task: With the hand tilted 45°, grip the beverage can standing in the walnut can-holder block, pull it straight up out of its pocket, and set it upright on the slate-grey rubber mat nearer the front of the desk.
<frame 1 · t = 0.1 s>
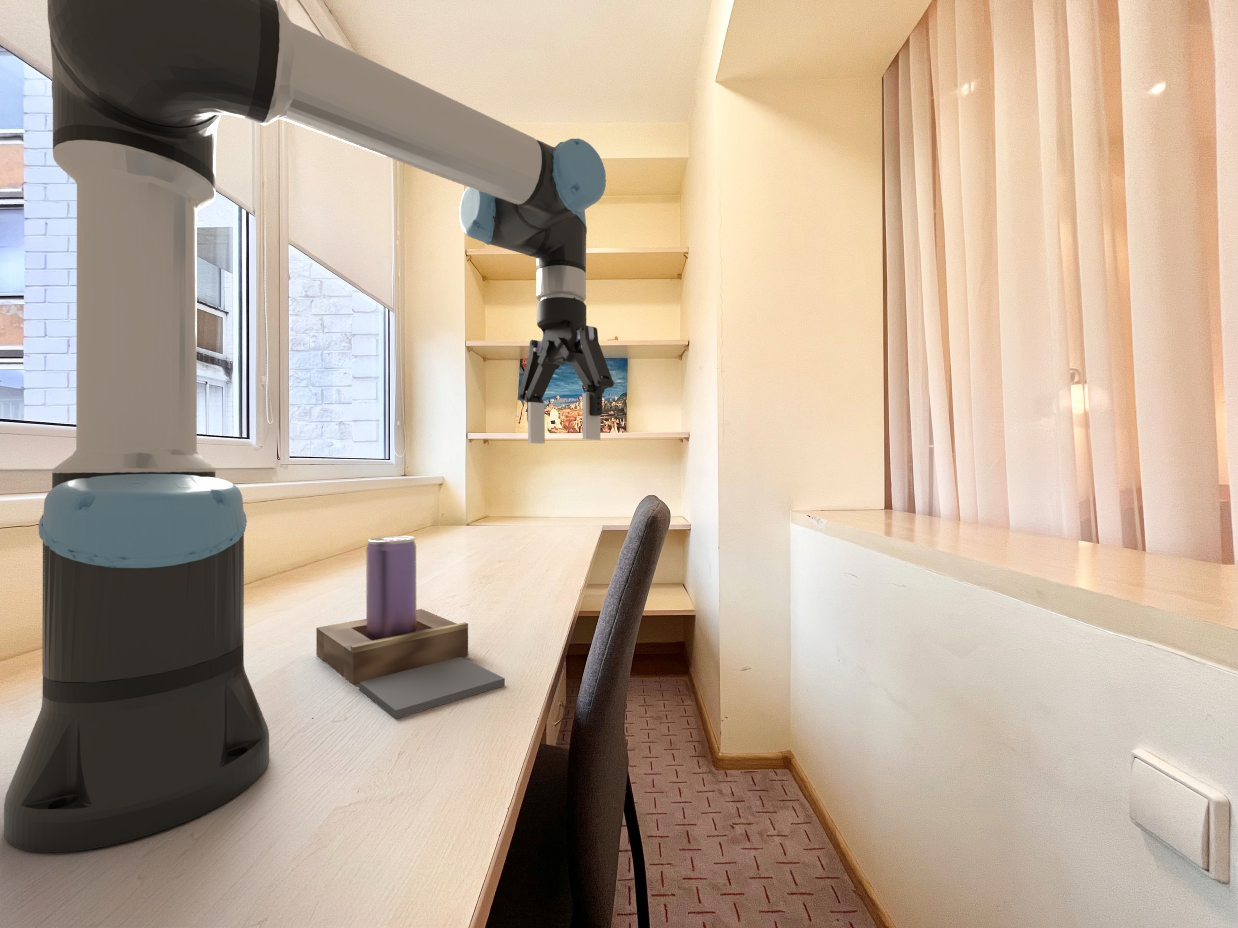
hand: (562, 441, 86), 28 cm above the table, tool pointing down, fingers open, 13 cm apart
rubber mat: (432, 687, 62), on the table
beverage can: (391, 656, 73), resting in can holder
can holder: (391, 655, 73), on the table
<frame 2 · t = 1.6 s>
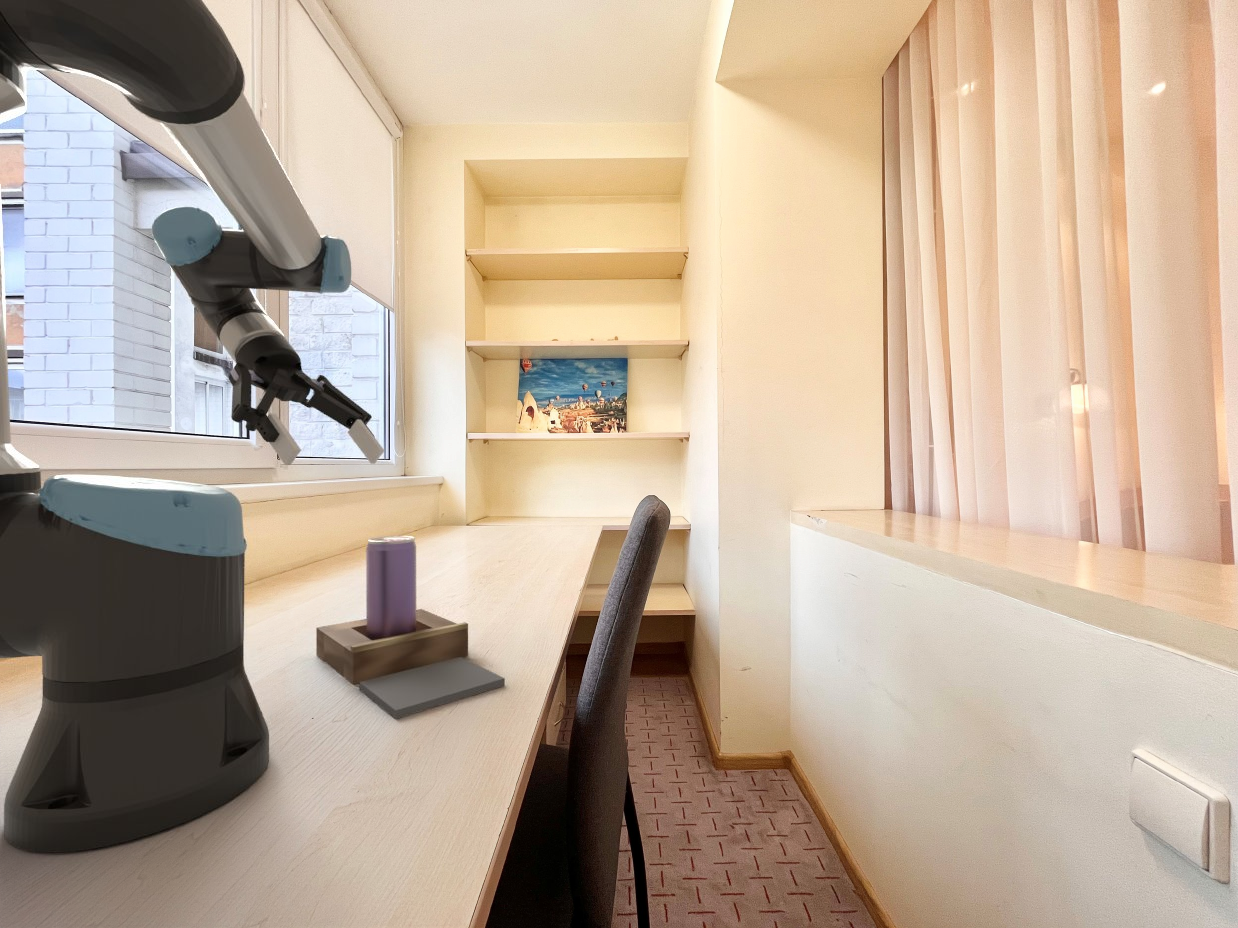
hand: (339, 457, 77), 26 cm above the table, tool tilted 45°, fingers open, 13 cm apart
nothing on the table moved.
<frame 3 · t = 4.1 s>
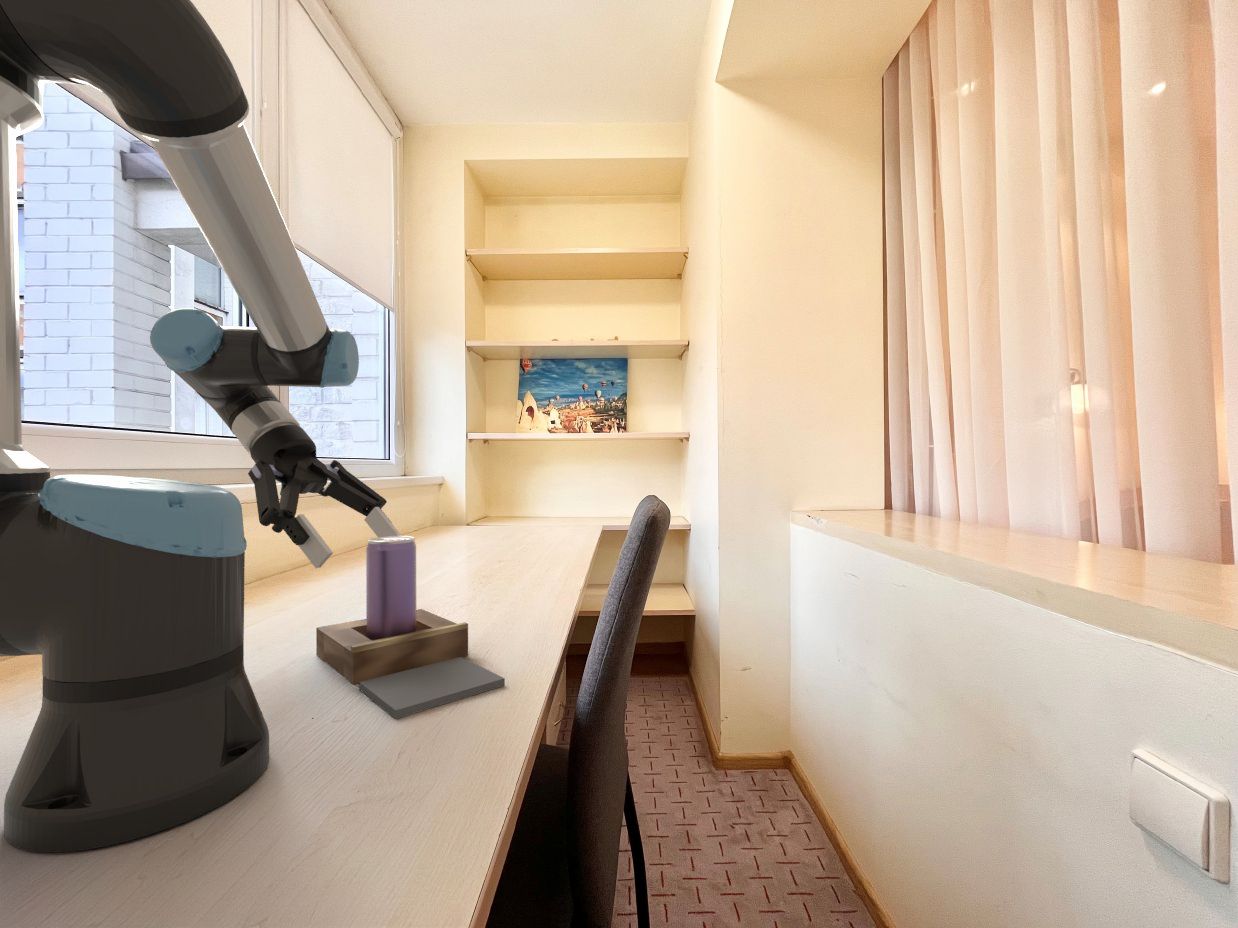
hand: (364, 552, 76), 13 cm above the table, tool tilted 45°, fingers open, 13 cm apart
nothing on the table moved.
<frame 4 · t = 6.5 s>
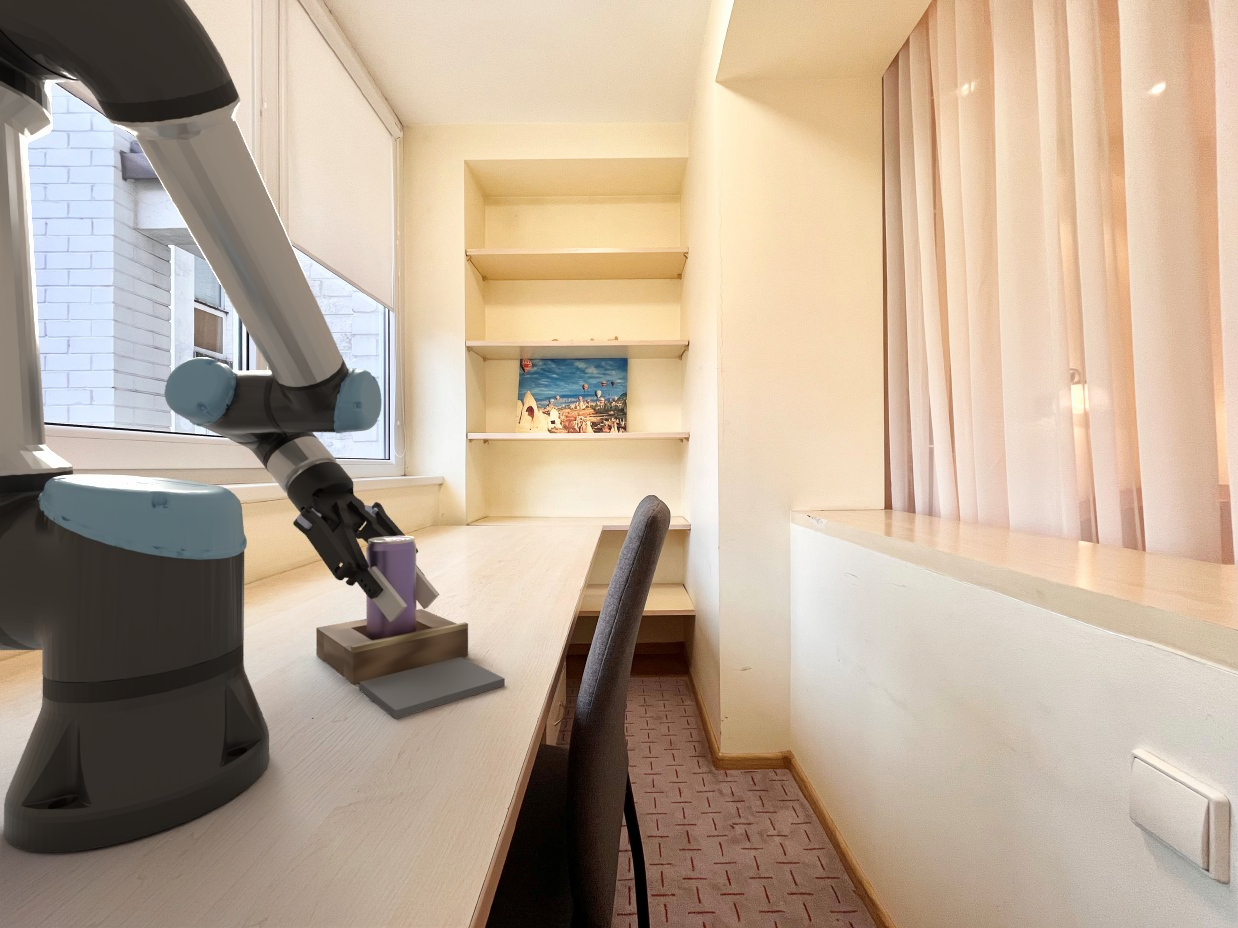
hand: (415, 607, 72), 6 cm above the table, tool tilted 45°, fingers closed on beverage can, 6 cm apart
beverage can: (391, 656, 73), resting in can holder, touching gripper
everything else where it was.
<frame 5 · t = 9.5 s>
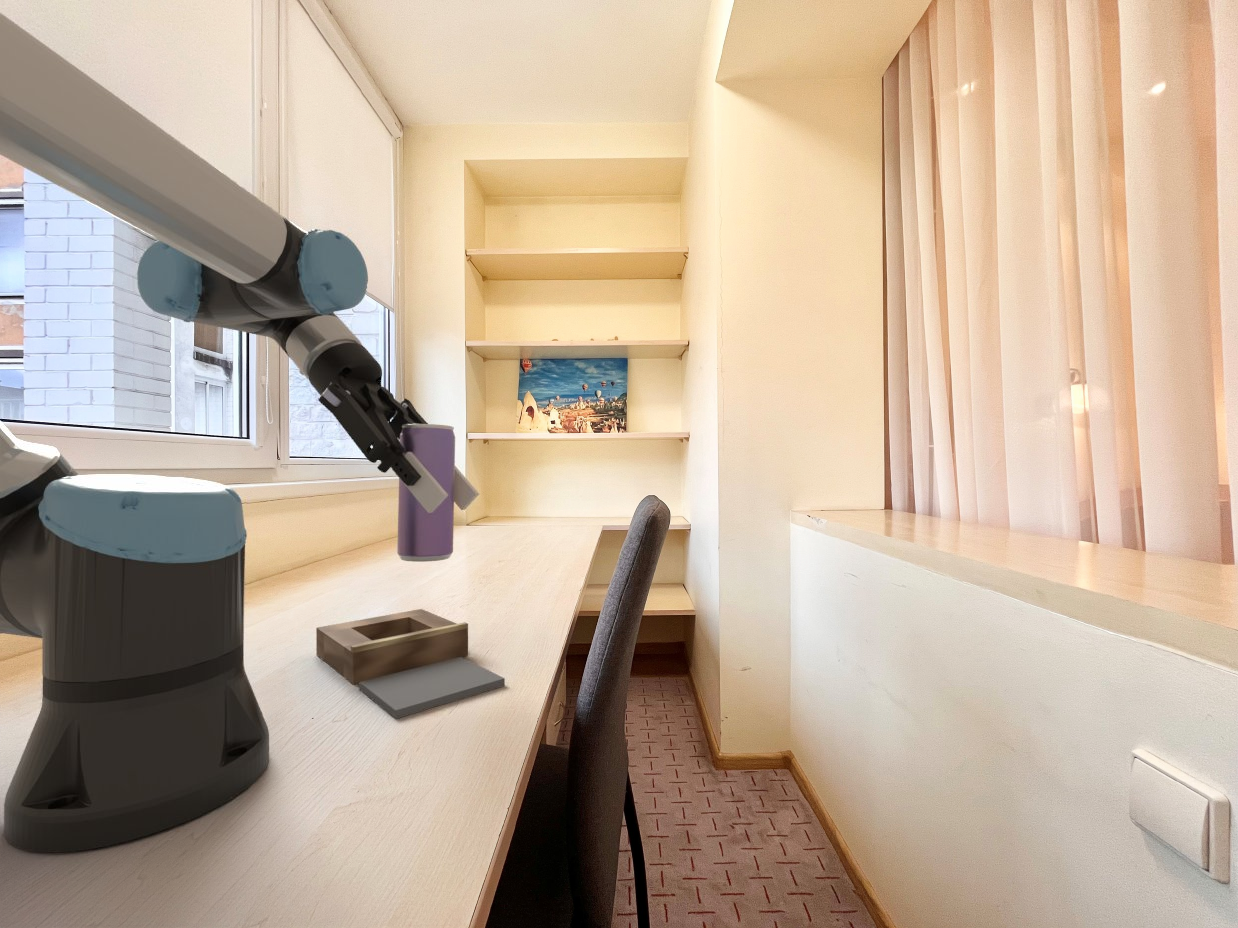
hand: (455, 502, 63), 20 cm above the table, tool tilted 45°, fingers closed on beverage can, 6 cm apart
beverage can: (425, 560, 64), point 14 cm above the table, touching gripper
everything else where it was.
when the fingers open (9 cm above the table, at t = 12.7 s): beverage can drops 1 cm, resting on rubber mat.
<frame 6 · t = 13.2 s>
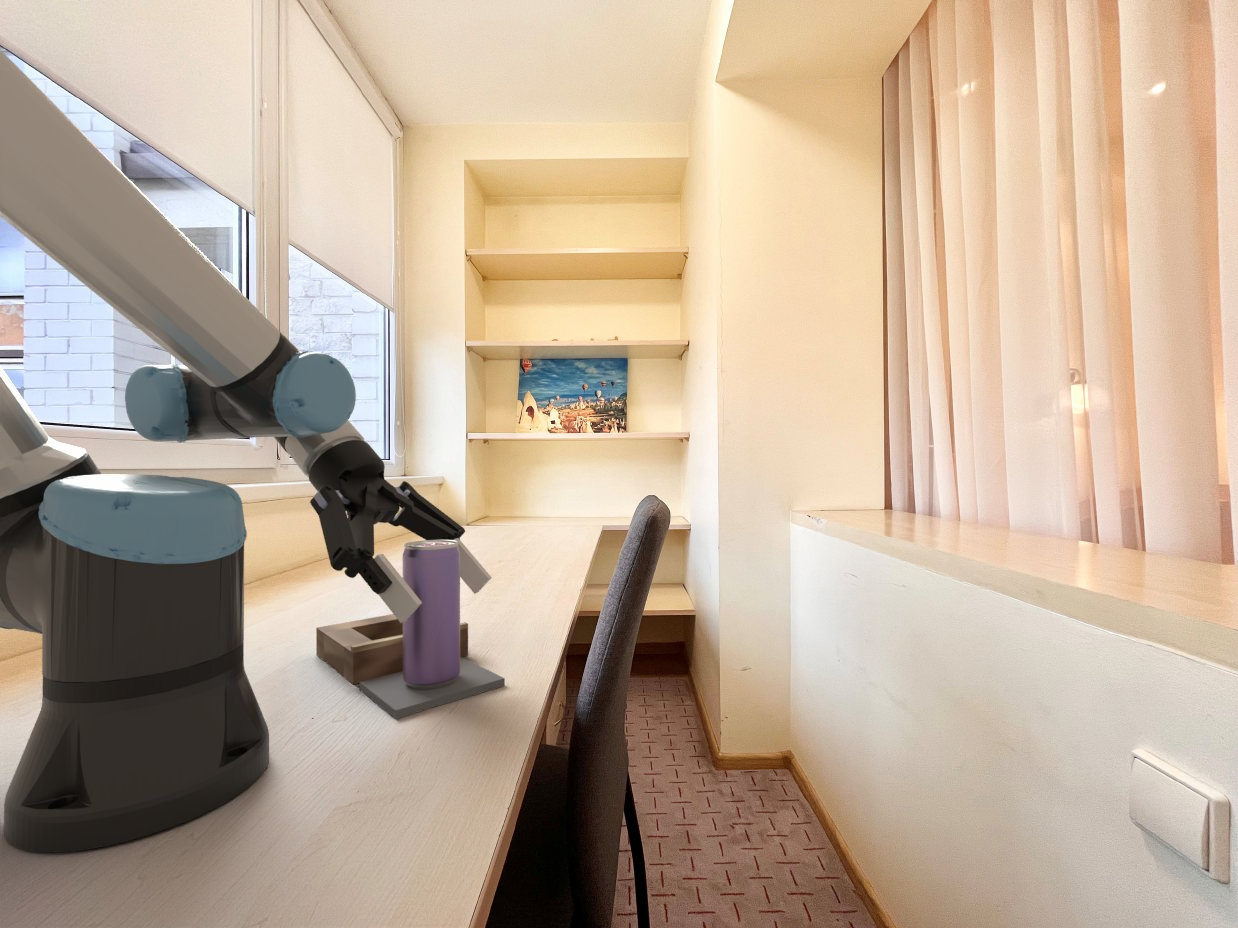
hand: (451, 598, 61), 10 cm above the table, tool tilted 45°, fingers open, 13 cm apart
beverage can: (431, 682, 62), point 1 cm above the table, touching rubber mat
everything else where it was.
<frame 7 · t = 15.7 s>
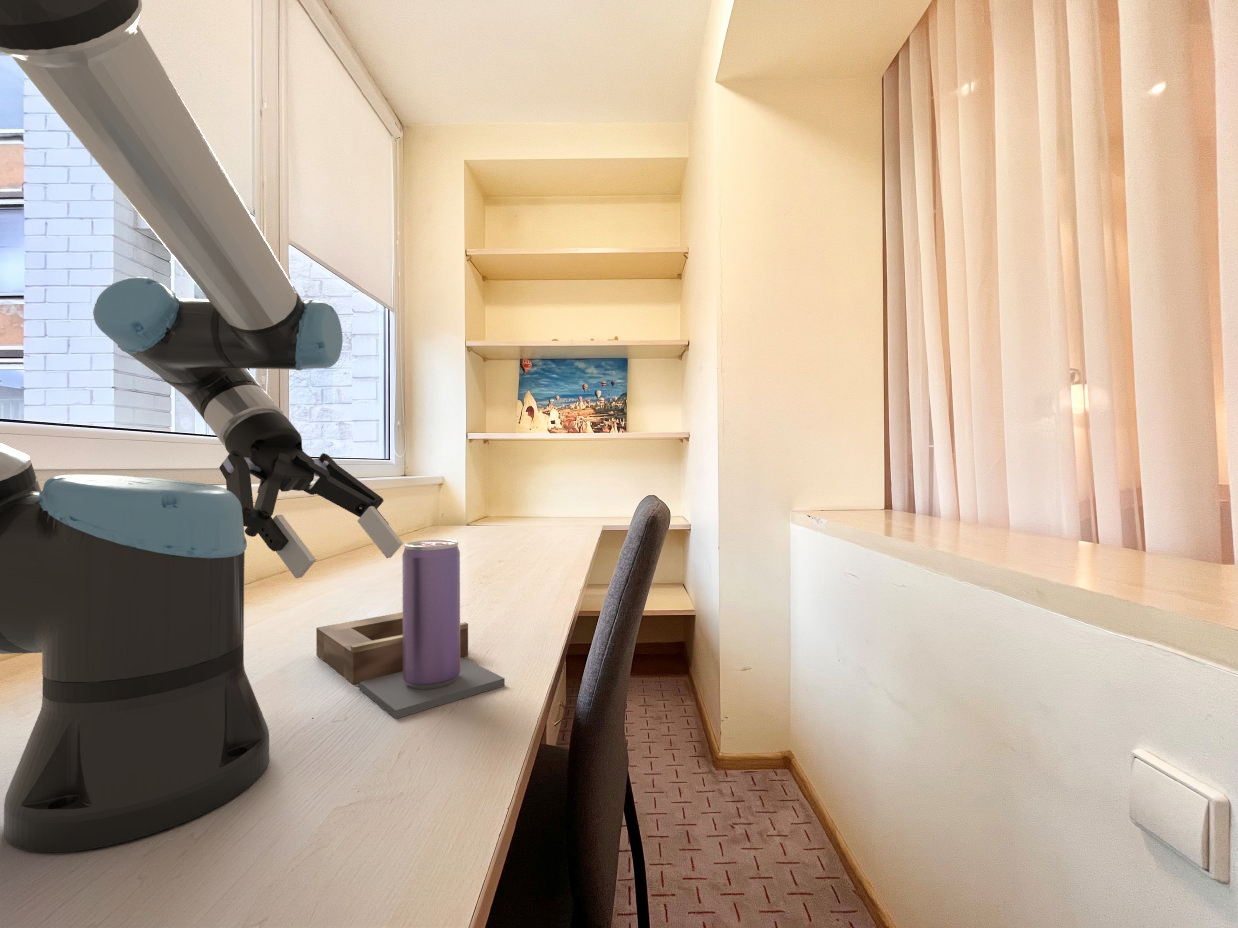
hand: (355, 559, 65), 14 cm above the table, tool tilted 45°, fingers open, 13 cm apart
nothing on the table moved.
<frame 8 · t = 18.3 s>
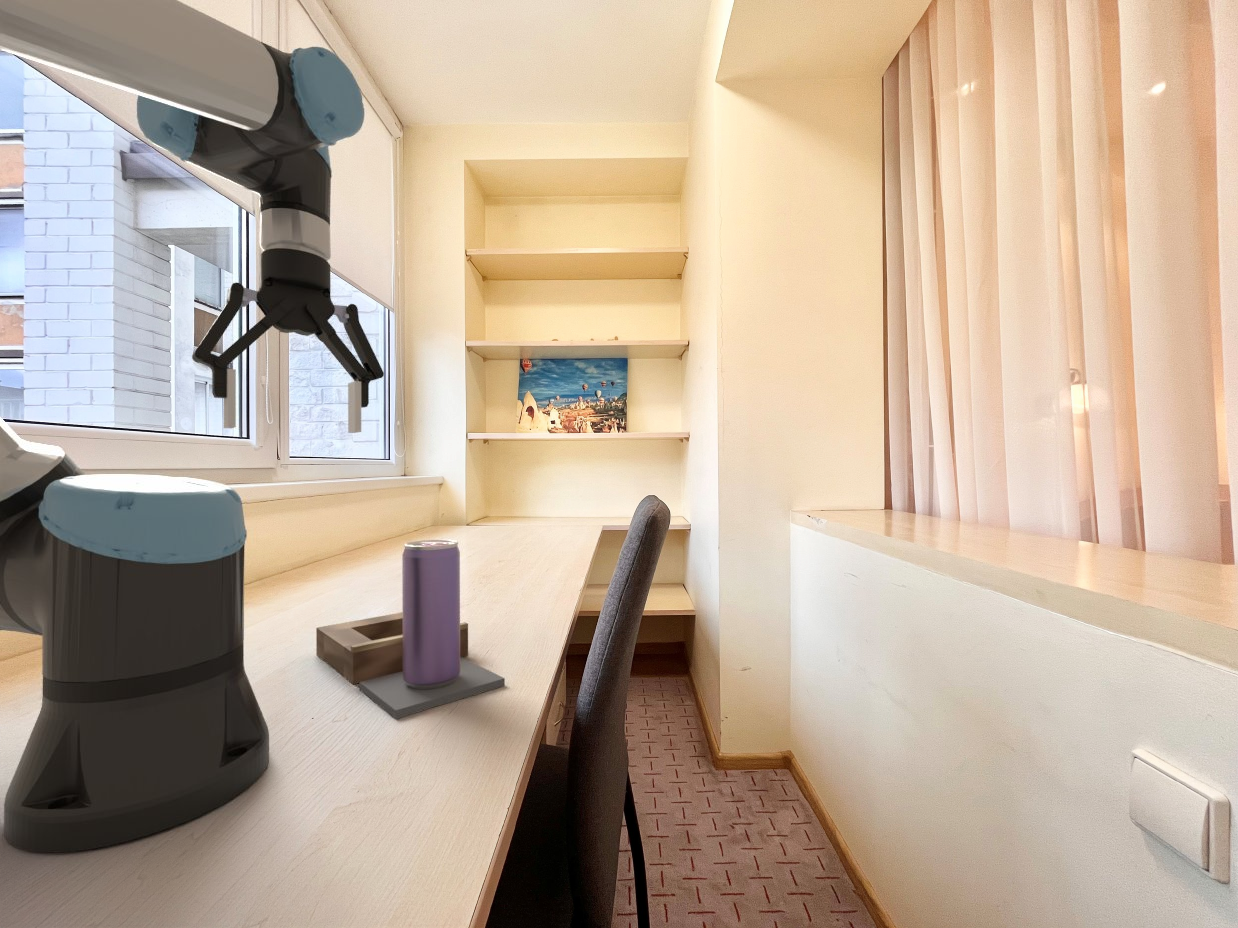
hand: (296, 430, 69), 29 cm above the table, tool pointing down, fingers open, 13 cm apart
nothing on the table moved.
at the end: beverage can inside the target area on the rubber mat (0.1 cm from its centre), point 0.6 cm above the rubber mat's base; beverage can tilted 0°; the gripper is holding nothing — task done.
